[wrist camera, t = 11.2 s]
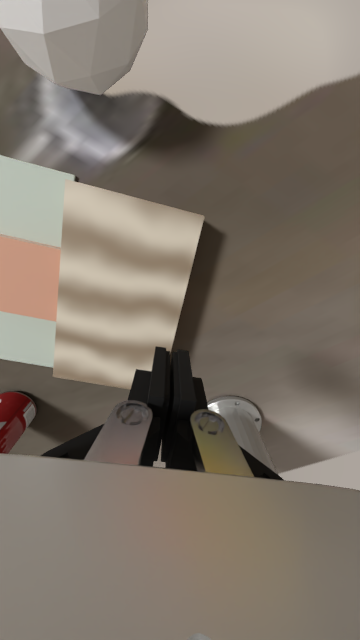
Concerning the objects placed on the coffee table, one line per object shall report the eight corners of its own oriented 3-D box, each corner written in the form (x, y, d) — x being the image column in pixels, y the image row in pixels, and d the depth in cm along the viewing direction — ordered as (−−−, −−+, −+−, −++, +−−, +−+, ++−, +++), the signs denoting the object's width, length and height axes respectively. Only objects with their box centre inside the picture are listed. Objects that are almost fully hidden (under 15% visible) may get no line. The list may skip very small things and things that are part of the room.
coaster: (65, 317, 35) (59, 322, 33) (-7, 303, 34) (-17, 308, 32) (70, 249, 32) (64, 250, 30) (-9, 231, 31) (-21, 231, 29)
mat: (61, 367, 38) (60, 368, 38) (-50, 348, 36) (-53, 349, 36) (75, 176, 29) (74, 175, 29) (-73, 136, 27) (-76, 135, 27)
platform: (160, 379, 40) (160, 394, 36) (64, 362, 38) (52, 376, 34) (200, 217, 32) (204, 215, 28) (78, 185, 30) (65, 178, 26)
